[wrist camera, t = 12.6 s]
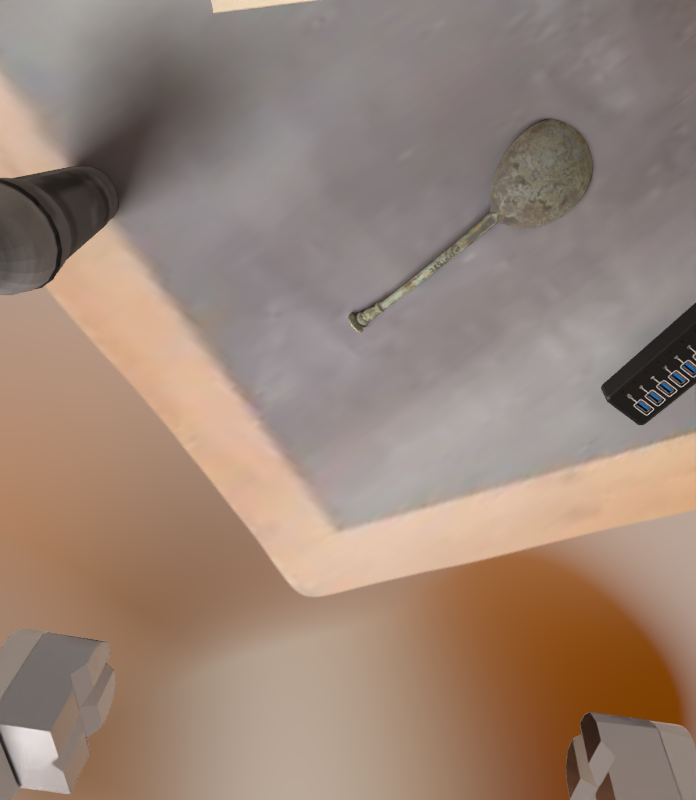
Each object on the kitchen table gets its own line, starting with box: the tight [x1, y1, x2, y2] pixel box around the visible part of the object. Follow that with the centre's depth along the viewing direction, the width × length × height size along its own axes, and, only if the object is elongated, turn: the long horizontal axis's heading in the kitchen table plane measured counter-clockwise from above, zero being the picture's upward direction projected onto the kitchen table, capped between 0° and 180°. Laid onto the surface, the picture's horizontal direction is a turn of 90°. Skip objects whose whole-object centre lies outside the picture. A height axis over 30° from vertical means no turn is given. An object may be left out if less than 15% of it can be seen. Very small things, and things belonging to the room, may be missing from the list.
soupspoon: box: [348, 119, 593, 332], centre depth 46 cm, size 22×3×7 cm
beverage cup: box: [0, 166, 118, 295], centre depth 40 cm, size 7×7×20 cm
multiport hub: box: [601, 303, 696, 425], centre depth 49 cm, size 4×14×2 cm, turn 145°
